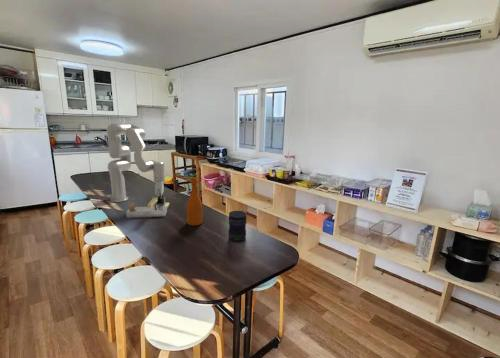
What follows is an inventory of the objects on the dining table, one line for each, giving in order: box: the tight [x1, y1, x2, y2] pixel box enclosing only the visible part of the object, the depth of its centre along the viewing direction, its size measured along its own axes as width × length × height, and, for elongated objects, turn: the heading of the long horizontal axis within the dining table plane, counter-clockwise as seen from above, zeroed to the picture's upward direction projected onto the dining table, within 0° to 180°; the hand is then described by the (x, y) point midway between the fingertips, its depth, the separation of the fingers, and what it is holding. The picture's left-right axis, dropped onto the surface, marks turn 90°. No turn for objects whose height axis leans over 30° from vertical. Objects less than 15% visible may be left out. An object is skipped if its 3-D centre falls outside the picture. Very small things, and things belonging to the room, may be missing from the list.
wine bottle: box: [185, 176, 204, 227], centre depth 155 cm, size 10×10×30 cm
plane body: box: [126, 202, 168, 219], centre depth 169 cm, size 24×9×9 cm, turn 100°
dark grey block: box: [155, 195, 166, 205], centre depth 185 cm, size 6×5×5 cm
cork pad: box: [153, 202, 170, 209], centre depth 186 cm, size 11×11×1 cm
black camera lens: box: [228, 210, 247, 244], centre depth 138 cm, size 10×10×15 cm
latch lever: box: [147, 196, 157, 208], centre depth 162 cm, size 15×2×2 cm, turn 6°
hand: (160, 202), depth 185 cm, fingers closed on dark grey block, 4 cm apart
